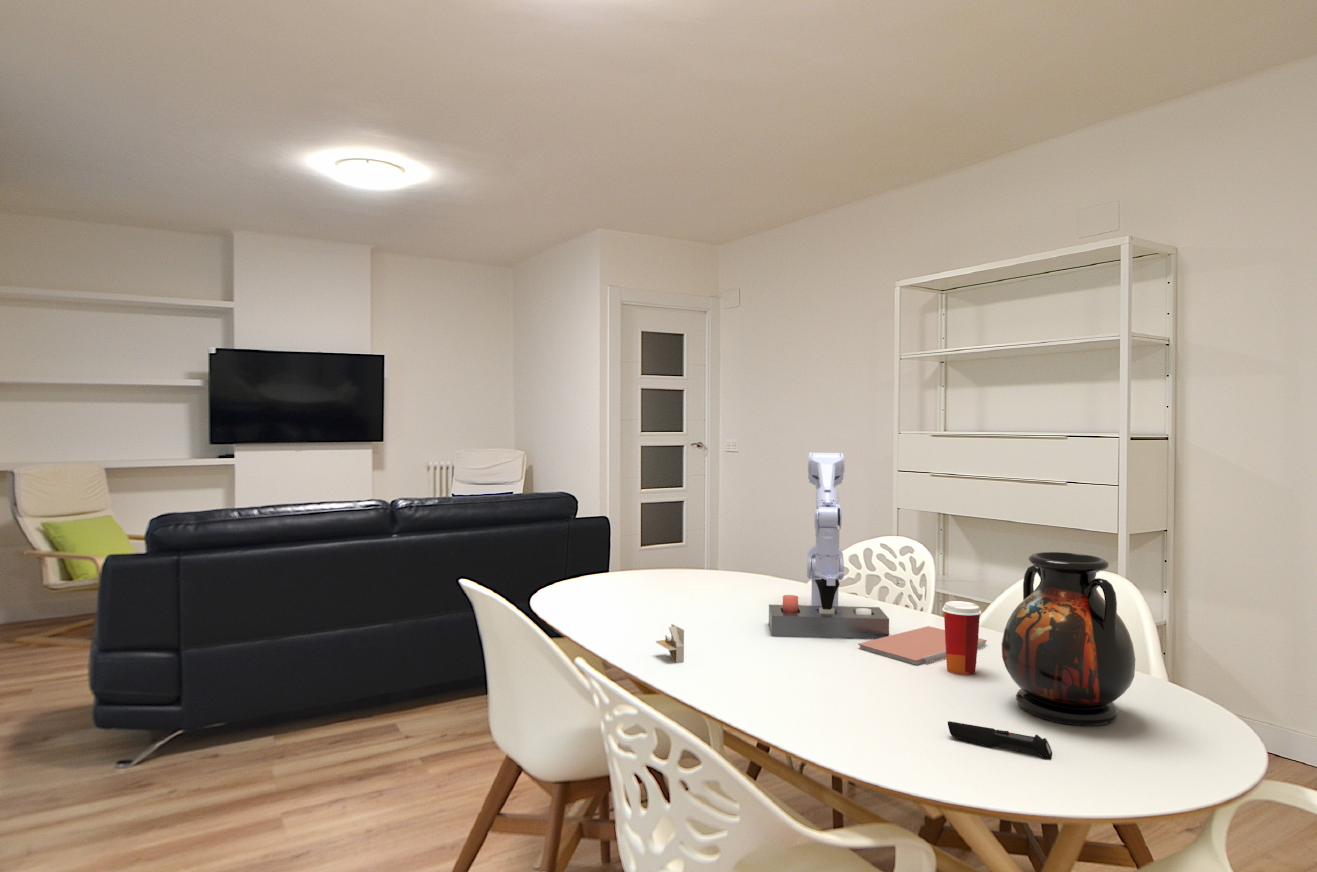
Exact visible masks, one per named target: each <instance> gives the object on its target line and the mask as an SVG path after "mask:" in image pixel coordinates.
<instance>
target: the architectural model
mask: <svg viewBox="0 0 1317 872" xmlns="http://www.w3.org/2000/svg"><path fill="white" fill-rule="evenodd" d="M668 629H669V632H670V634H671V635H670V637H669V636H667V634H665V639H660V640H656V641H655V643H656V644H658V645H660V646H661V647H663V648H664V649H666V650H668V652H669V655H670V658H671V660H672V661H674V660H675V662H676V664H680V663H684V662H685V629H683V628H681V627H679V626H677V625H675V624H674V623H671V626H668Z"/></svg>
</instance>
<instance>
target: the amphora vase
mask: <svg viewBox="0 0 1317 872" xmlns="http://www.w3.org/2000/svg"><path fill="white" fill-rule="evenodd" d="M1028 562H1030V563H1031V564H1032V565H1031V566H1028V567H1027V568H1026V571H1025V573H1024V576H1023V583H1022V586H1023V587H1022V591H1023V592H1022V593H1023V594H1022V595H1023V597H1022V601H1021V602H1020V603H1019V604H1018V605H1017V606H1016V607H1015V609H1014V610H1013V611H1012V613H1011V615H1010V616H1009V618H1008V620H1007V622H1006V626H1005V627H1004V630H1003V635H1002V640H1001V658H1002V661H1003V665H1004V667H1005V669H1006V671H1007V673H1008V674H1009V676H1010V677H1011V679H1012V680H1013V682H1014V683H1015V684H1016V685H1017V686H1018V687H1019V688H1020V689H1018V691H1017V692H1016V693H1015V700H1016V702H1017V704H1018V706H1019V707H1021V708H1022V709H1023V710H1025V711H1027V713H1029V714H1032V715H1034V716H1036V717H1039V718H1042V719H1043V720H1047V721H1051V722H1056V723H1059V724H1065V725H1073V726H1086V727H1087V726H1100V725H1104V724H1108V723H1111V722H1113V720H1115V719H1116V718H1117V717H1118V714H1119V709H1118V707H1117V705H1116V704H1115V703H1114V702H1115V701H1116V700H1118V699H1119V698H1120V697H1121V696H1123V695H1124V694H1125V693H1126V691H1127V690H1128V689H1129V688H1130V687H1131V685H1132V683H1133V681H1134V678H1135V671H1136V669H1135V668H1136V653H1135V648H1134V643H1133V640H1132V637H1131V635H1130V632H1129V630H1128V628H1127V626H1126V623H1125V622H1124V621H1123V619H1122V618H1121V617H1120V615H1119V614H1118V611H1117V610H1118V601H1117V594H1116V591H1115V589H1114V587H1113V584H1112V583H1111V582H1110V581H1108V580H1107V579H1104V578H1099V577H1097V578H1096V576H1097V573H1099V572H1101V571H1102V572H1103V571H1105V570H1107V569H1108V568H1109V565H1110V564H1109V562H1108V561H1107V560H1105V559H1104V558H1101V557H1098V556H1094V555H1088V554H1083V553H1076V552H1075V553H1074V552H1062V551H1061V552H1059V551H1056V552H1055V551H1049V552H1048V551H1046V552H1043V551H1042V552H1036V553H1032V554H1031V555H1029V557H1028ZM1037 574H1038V577H1039V579H1040V581H1039V584H1038V586H1037V587H1036V588H1035V589H1034V583H1035V578H1036V575H1037ZM1099 587H1100V588H1101V590H1102V592H1103V596H1104V598H1103V597H1102V595H1101V594H1100V593H1099V591H1098V588H1099Z"/></svg>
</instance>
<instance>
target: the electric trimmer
mask: <svg viewBox="0 0 1317 872" xmlns="http://www.w3.org/2000/svg"><path fill="white" fill-rule="evenodd" d="M947 727H948V730H949V733H950V736H951V737H953V738H957V739H959V740H964V741H967V742H971V743H974V744H978V745H980V746H983V747H988V748H996V747H998V748H1002V749H1006V750H1012V751H1017V752H1021V753H1024V754H1025V753H1027V754H1031V755H1035V756H1040V757H1042V759H1044V760H1047V759H1049V760H1051V759H1052V758H1053V757H1052V756H1053V750H1052V748H1051V745H1050V743H1049V741H1048V739H1047V738H1046V737H1044V738H1042V737H1041V736H1039V735H1038V734H1035V735H1034V736H1032V735H1025V734H1020V733H1015V732H1009V730H1001V729H995V728H992V727H986V726H979V725H973V724H967V723H961V722H957V721H950V720H949V721H947Z"/></svg>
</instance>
